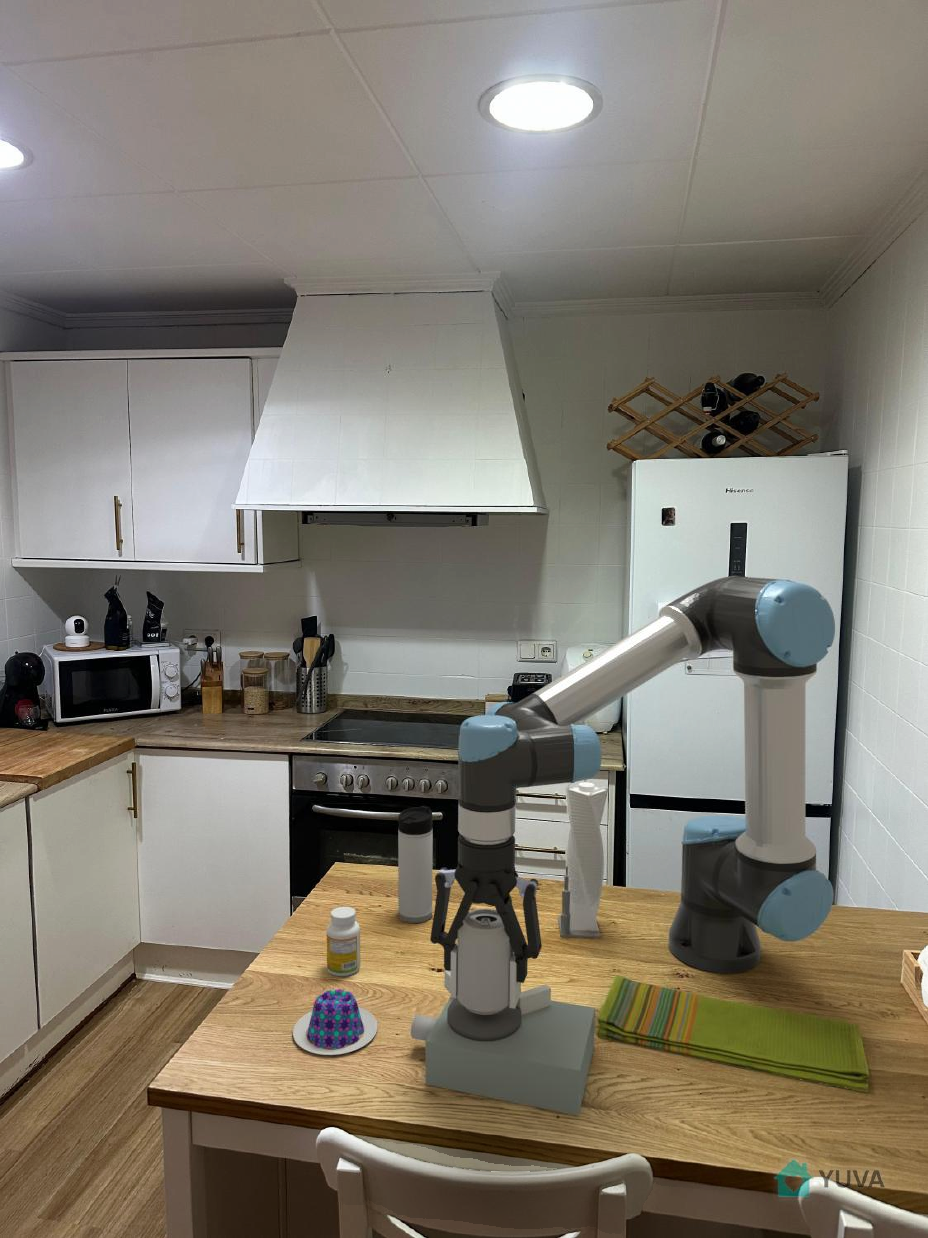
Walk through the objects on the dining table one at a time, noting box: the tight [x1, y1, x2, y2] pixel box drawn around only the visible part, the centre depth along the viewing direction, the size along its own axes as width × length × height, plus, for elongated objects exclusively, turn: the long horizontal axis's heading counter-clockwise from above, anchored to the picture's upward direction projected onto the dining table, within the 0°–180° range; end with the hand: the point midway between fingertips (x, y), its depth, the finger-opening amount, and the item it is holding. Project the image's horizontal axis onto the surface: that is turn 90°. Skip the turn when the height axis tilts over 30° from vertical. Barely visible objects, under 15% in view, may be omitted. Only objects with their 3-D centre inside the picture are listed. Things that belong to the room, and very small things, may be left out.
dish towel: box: [596, 974, 870, 1093], centre depth 121 cm, size 15×36×3 cm, turn 71°
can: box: [457, 908, 514, 1015], centre depth 113 cm, size 8×8×12 cm
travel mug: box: [397, 805, 434, 924], centre depth 155 cm, size 6×7×20 cm
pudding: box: [292, 988, 378, 1056], centre depth 121 cm, size 12×12×5 cm
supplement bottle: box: [326, 906, 361, 977], centre depth 137 cm, size 5×5×10 cm
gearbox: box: [410, 970, 596, 1117], centre depth 114 cm, size 24×14×8 cm, turn 74°
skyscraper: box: [557, 780, 609, 939], centre depth 151 cm, size 8×8×28 cm
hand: (485, 997), depth 114 cm, fingers closed on can, 7 cm apart
